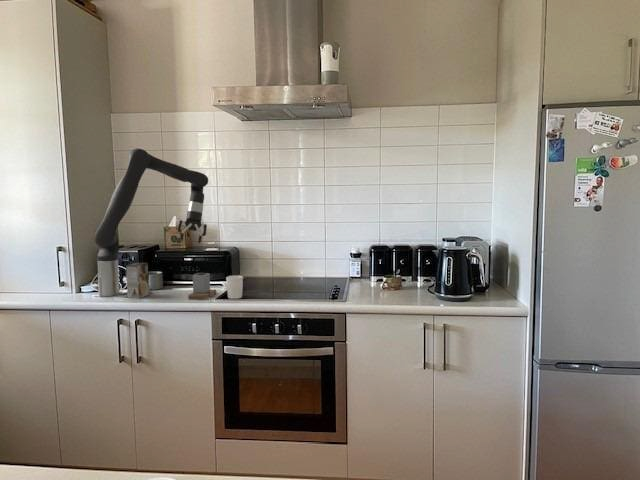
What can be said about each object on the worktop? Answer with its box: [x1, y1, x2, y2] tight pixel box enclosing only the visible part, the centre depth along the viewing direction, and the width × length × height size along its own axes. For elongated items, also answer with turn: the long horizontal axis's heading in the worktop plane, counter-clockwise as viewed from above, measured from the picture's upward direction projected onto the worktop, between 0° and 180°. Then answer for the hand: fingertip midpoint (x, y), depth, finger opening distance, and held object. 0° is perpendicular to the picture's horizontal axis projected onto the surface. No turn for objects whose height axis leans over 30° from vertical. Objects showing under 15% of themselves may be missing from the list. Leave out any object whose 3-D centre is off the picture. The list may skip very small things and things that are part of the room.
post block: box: [187, 288, 217, 301], centre depth 219 cm, size 14×8×6 cm, turn 170°
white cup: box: [225, 275, 244, 300], centre depth 217 cm, size 8×8×10 cm
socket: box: [192, 272, 211, 294], centre depth 219 cm, size 6×6×9 cm
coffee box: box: [125, 262, 150, 300], centre depth 219 cm, size 9×6×16 cm
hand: (190, 242), depth 234 cm, fingers open, 8 cm apart
